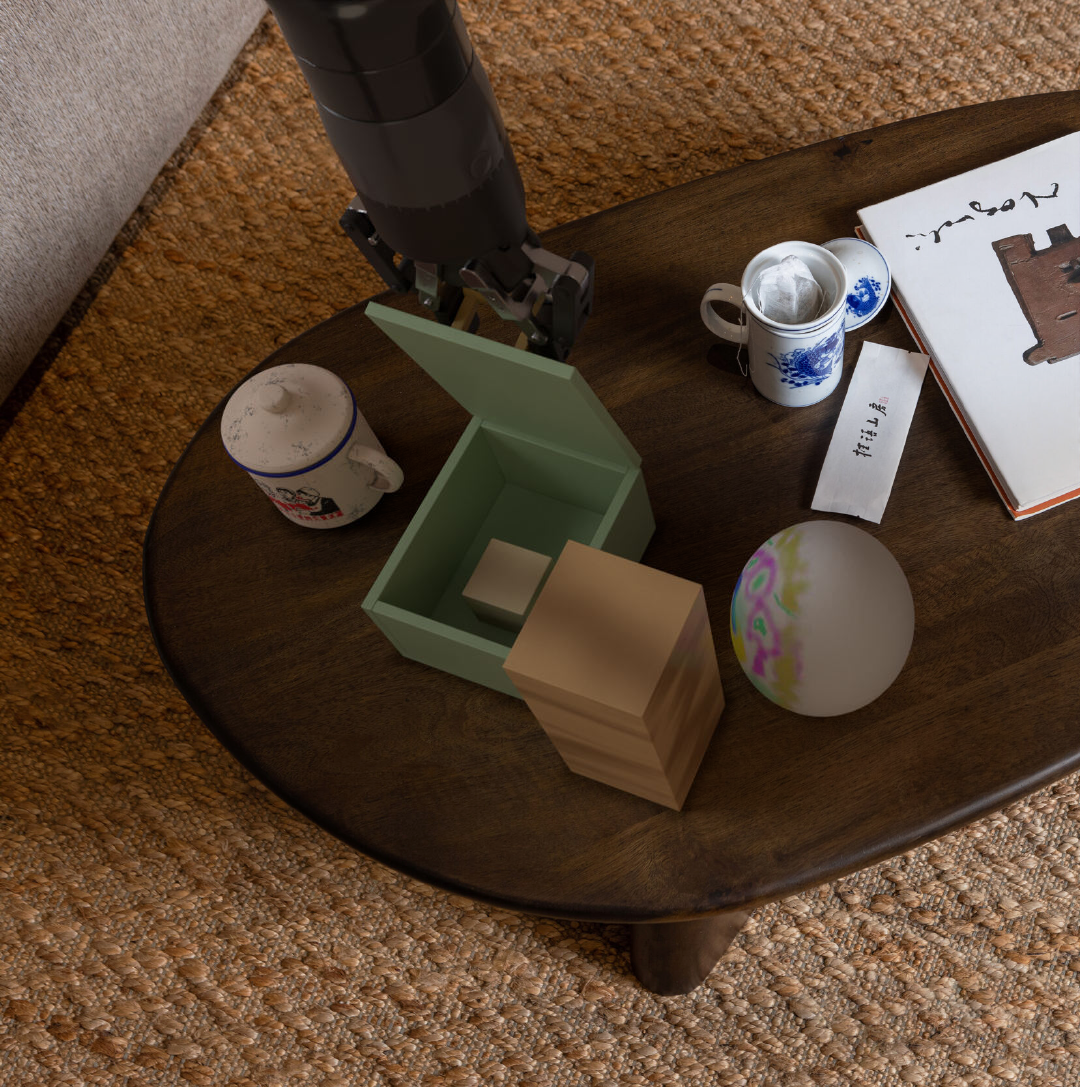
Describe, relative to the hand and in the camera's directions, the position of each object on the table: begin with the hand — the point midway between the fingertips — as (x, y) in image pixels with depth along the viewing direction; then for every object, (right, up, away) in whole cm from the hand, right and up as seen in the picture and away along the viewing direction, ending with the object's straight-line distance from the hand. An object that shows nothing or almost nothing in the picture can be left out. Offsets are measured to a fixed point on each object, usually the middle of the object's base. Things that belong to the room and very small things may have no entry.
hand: (510, 348), depth 70 cm
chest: (-3, -15, +16) cm, 22 cm away
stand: (+7, -25, +11) cm, 28 cm away
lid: (0, -3, +3) cm, 4 cm away
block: (-3, -16, +14) cm, 22 cm away
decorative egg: (+18, -19, +14) cm, 30 cm away
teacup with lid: (-17, -7, +19) cm, 27 cm away
